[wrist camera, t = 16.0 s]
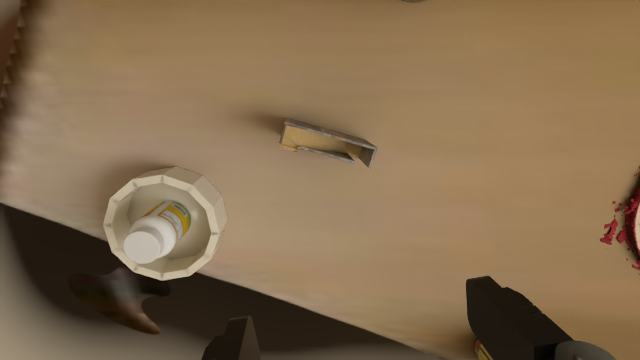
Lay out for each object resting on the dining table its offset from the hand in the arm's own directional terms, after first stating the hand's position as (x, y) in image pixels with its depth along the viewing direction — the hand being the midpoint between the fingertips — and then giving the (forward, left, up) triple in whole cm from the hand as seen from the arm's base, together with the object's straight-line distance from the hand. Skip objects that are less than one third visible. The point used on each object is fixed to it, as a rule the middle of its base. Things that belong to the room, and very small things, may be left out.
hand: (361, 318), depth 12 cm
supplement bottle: (+5, -21, -35) cm, 41 cm away
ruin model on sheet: (-2, +2, -37) cm, 37 cm away
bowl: (+6, -21, -36) cm, 42 cm away
